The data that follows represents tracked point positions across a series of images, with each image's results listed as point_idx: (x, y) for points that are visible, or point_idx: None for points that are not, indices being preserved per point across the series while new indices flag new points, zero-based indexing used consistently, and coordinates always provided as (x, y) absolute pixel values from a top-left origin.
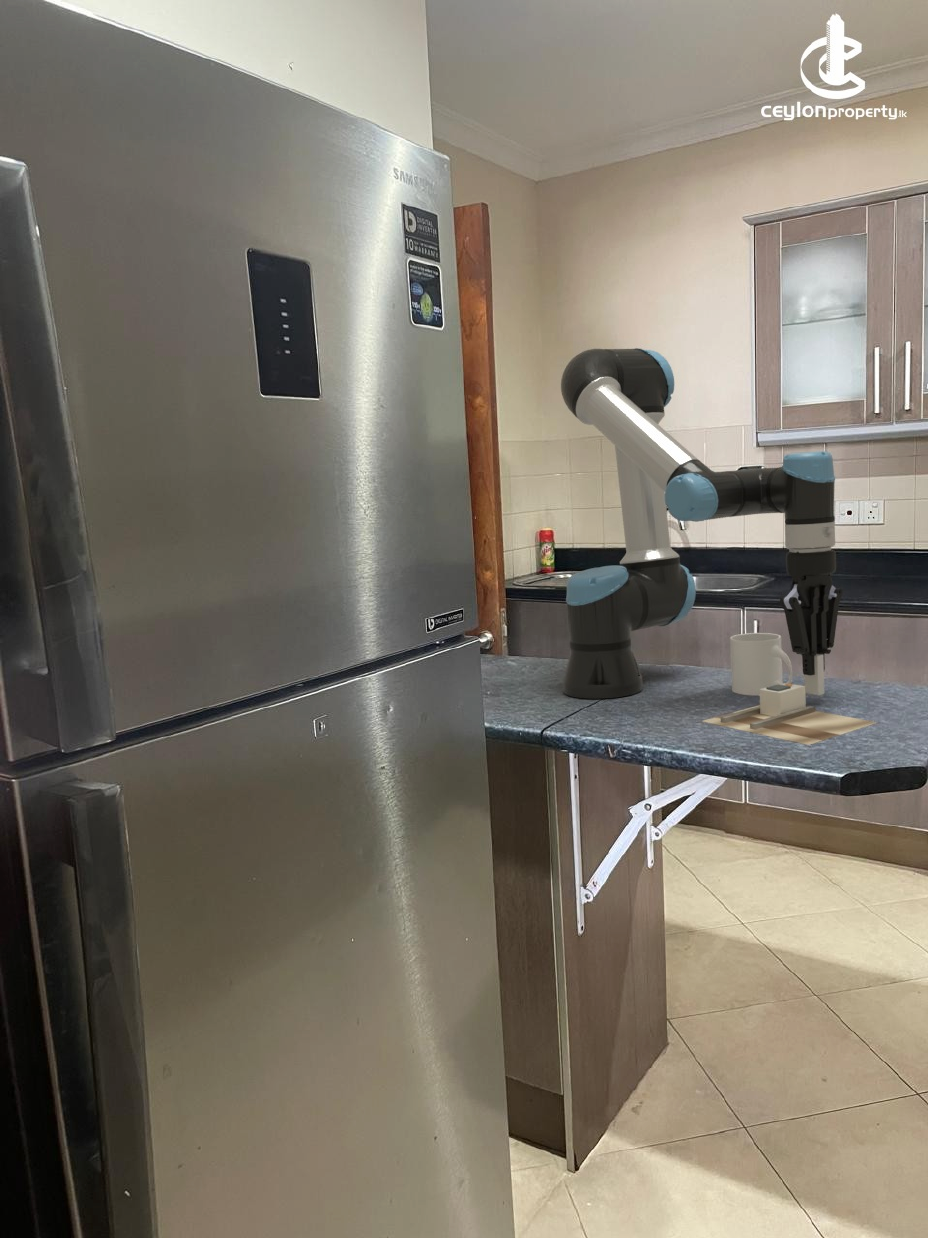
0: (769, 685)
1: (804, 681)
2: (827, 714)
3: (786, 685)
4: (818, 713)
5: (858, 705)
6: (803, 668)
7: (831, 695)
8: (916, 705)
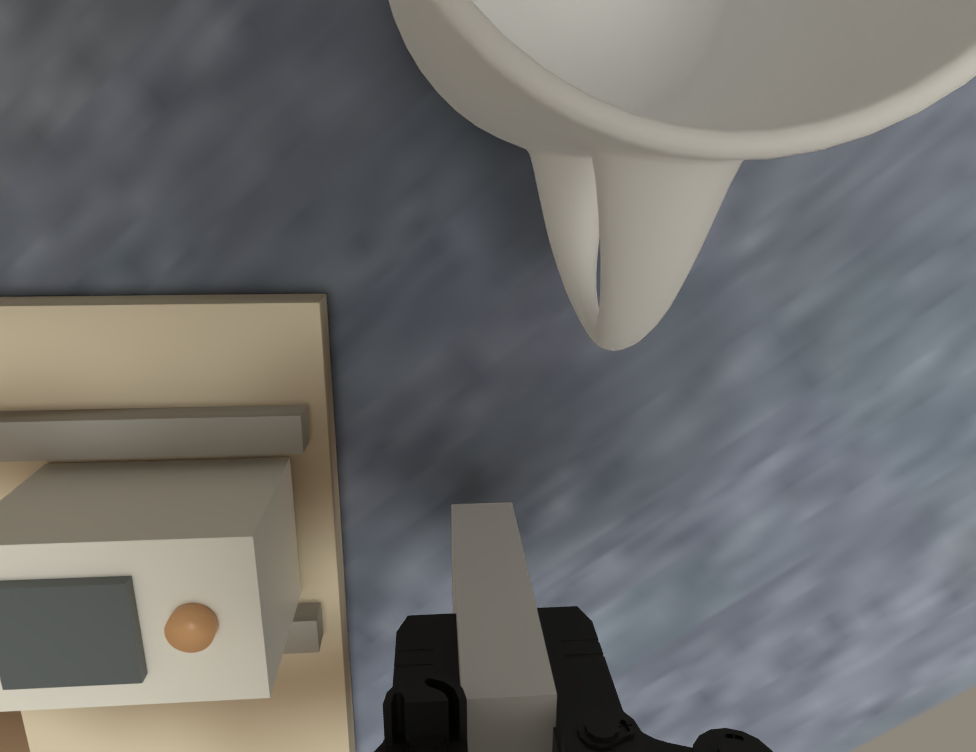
0: (515, 142)
1: (453, 549)
2: (322, 702)
3: (167, 625)
4: (307, 663)
5: (710, 578)
6: (395, 659)
7: (846, 340)
8: (848, 744)
